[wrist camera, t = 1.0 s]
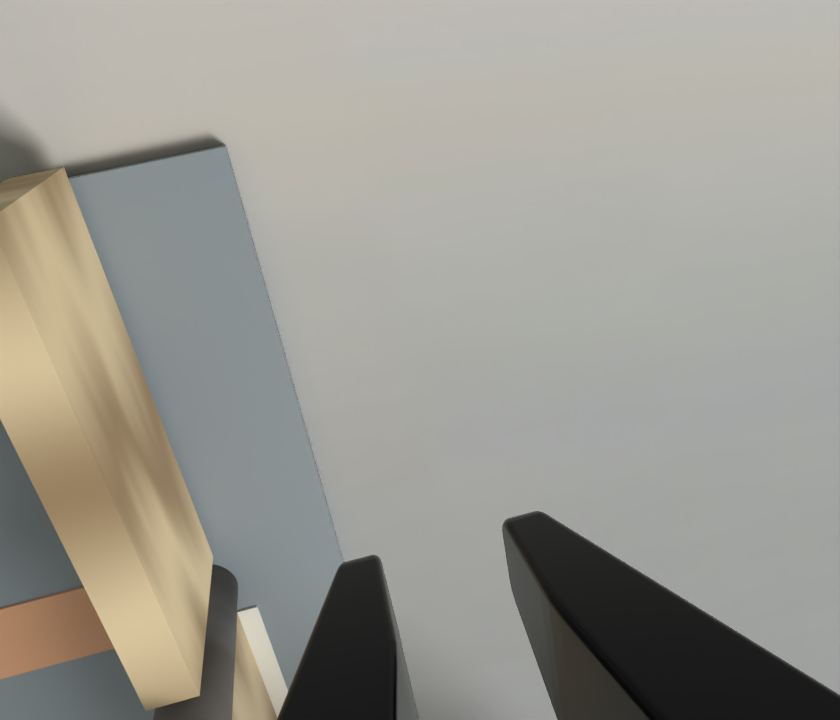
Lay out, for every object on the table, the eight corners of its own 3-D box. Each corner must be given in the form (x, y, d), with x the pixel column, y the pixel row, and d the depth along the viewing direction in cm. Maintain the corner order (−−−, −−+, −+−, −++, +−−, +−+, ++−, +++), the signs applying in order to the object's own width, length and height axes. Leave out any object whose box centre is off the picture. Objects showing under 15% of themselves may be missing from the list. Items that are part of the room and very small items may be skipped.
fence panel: (213, 556, 21) (199, 695, 16) (170, 567, 20) (145, 711, 16) (64, 167, 16) (-12, 219, 11) (7, 178, 16) (-91, 236, 11)
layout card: (408, 793, 27) (410, 802, 27) (-61, 934, 26) (-65, 947, 25) (225, 144, 17) (224, 147, 16) (-593, 313, 15) (-612, 319, 15)
